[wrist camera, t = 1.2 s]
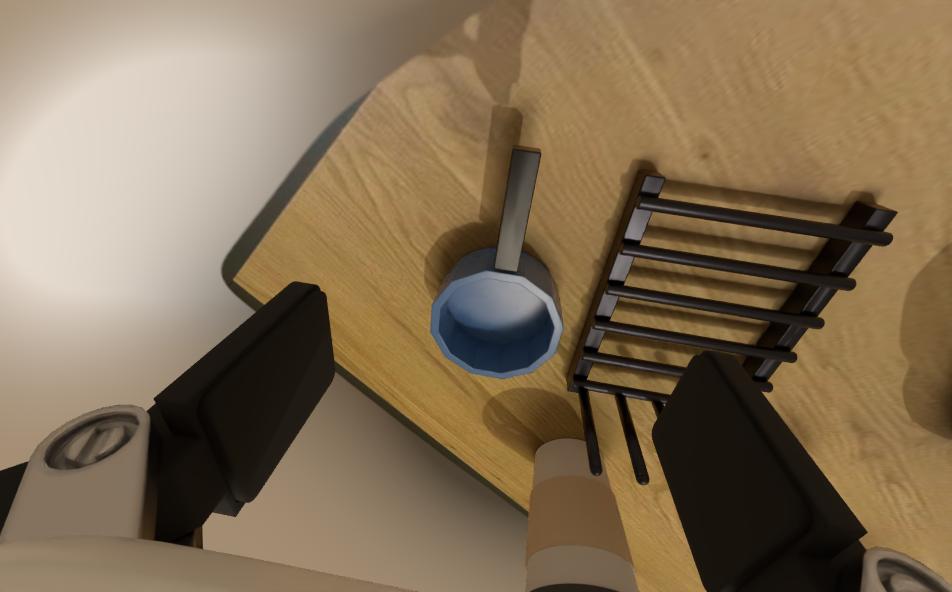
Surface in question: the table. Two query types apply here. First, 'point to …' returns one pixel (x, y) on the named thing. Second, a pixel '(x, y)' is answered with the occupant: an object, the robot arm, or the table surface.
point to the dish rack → (772, 348)
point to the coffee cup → (574, 526)
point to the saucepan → (501, 293)
